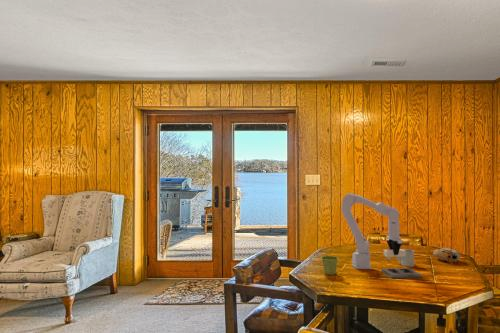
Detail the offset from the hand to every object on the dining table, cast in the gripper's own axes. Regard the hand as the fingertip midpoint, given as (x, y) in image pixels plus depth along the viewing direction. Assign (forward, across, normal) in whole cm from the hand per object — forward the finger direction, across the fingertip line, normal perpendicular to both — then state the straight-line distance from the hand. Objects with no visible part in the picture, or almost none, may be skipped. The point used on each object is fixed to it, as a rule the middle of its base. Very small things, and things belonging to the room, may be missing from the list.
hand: (394, 253), depth 192 cm
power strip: (+3, 0, 0) cm, 3 cm away
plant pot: (+10, -3, +38) cm, 39 cm away
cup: (+10, +11, -12) cm, 19 cm away
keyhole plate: (+10, -8, 0) cm, 12 cm away
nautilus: (+10, +16, -41) cm, 46 cm away
